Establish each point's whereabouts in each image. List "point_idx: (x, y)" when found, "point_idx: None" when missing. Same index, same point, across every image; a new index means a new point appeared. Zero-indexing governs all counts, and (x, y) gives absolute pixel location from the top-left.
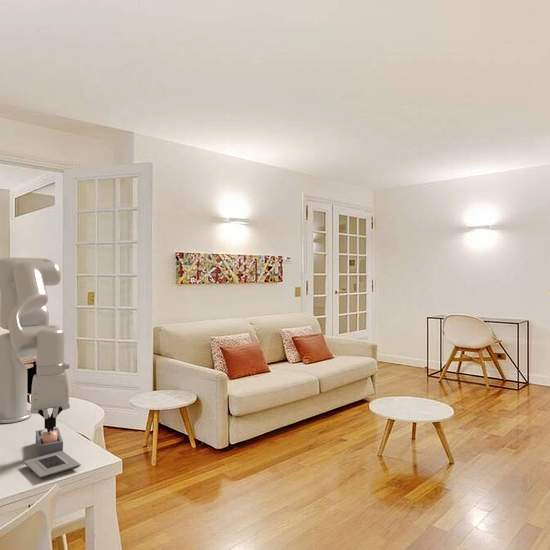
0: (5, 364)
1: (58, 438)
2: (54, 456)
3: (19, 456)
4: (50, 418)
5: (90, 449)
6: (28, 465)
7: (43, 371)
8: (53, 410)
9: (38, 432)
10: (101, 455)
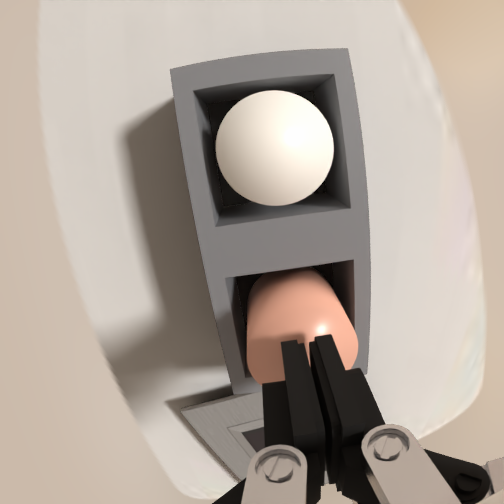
0: None
1: (350, 271)
2: None
3: (133, 275)
4: (329, 447)
5: (458, 297)
6: (210, 447)
7: None
8: (387, 496)
9: (195, 120)
10: (466, 364)
